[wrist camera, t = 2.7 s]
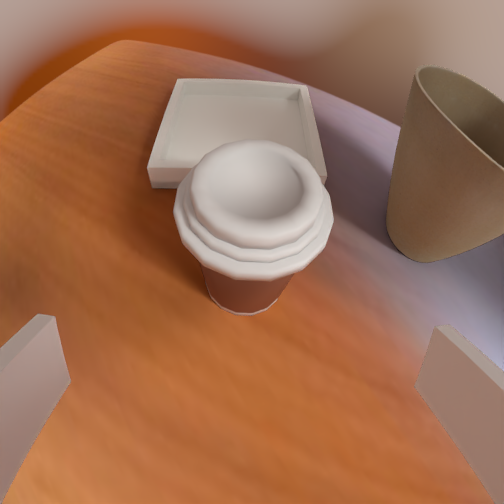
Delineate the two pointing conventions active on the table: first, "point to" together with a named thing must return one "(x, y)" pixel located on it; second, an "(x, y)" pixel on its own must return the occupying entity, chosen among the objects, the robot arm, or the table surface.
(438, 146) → the plant pot
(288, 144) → the tray
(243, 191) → the coffee cup
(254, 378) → the table surface
